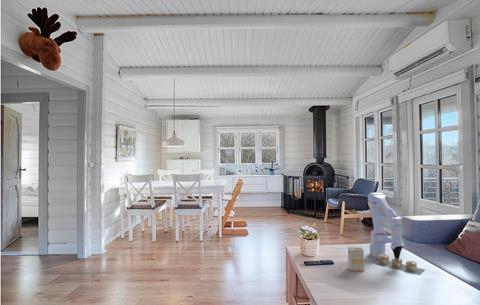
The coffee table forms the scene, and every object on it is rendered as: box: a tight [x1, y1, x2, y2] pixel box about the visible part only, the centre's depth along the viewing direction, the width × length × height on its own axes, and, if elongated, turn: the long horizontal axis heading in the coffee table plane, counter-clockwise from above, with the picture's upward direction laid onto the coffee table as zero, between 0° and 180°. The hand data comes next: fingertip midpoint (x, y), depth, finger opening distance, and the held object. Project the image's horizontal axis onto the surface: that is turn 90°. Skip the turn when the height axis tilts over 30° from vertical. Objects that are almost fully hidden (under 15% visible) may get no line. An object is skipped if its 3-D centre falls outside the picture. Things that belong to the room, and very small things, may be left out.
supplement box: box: [347, 246, 365, 272], centre depth 176 cm, size 8×5×13 cm, turn 84°
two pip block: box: [378, 254, 390, 264], centre depth 186 cm, size 4×4×5 cm
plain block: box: [391, 257, 403, 268], centre depth 180 cm, size 4×4×4 cm
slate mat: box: [370, 257, 426, 276], centre depth 180 cm, size 28×12×1 cm, turn 42°
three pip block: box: [405, 259, 418, 271], centre depth 174 cm, size 4×4×5 cm
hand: (397, 258), depth 180 cm, fingers closed
